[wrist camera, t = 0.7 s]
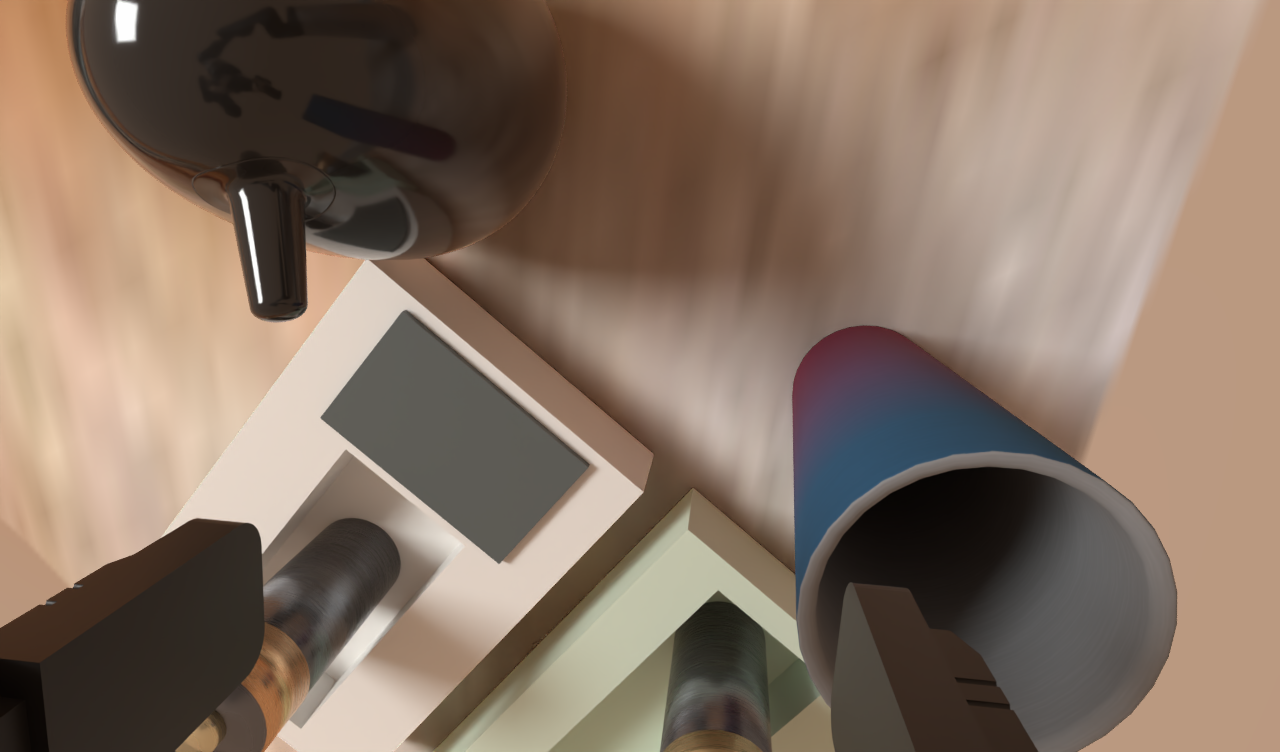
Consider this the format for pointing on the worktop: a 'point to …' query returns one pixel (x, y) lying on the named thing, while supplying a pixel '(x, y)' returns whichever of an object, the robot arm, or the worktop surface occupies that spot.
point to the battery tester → (421, 488)
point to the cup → (972, 536)
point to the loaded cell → (718, 684)
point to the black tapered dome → (330, 120)
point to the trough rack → (650, 648)
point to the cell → (303, 632)
